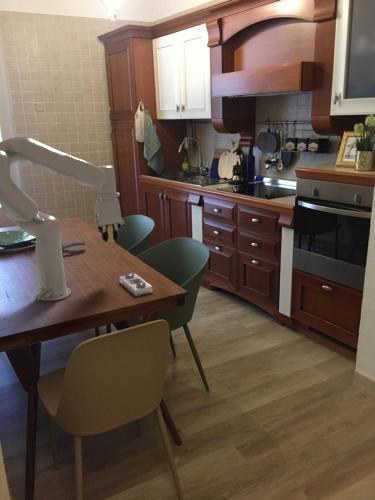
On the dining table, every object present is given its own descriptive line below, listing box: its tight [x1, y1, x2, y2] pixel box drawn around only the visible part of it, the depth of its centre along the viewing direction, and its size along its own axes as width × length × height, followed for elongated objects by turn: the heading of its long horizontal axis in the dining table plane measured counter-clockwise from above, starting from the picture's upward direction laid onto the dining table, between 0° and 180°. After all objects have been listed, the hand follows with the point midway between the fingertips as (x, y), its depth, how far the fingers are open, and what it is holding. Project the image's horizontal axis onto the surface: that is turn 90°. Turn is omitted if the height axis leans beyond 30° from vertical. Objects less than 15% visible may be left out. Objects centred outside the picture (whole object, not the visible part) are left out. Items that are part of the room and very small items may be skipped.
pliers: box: [61, 241, 87, 255], centre depth 219 cm, size 20×2×6 cm, turn 113°
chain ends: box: [119, 272, 153, 297], centre depth 174 cm, size 17×7×4 cm, turn 29°
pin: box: [105, 224, 115, 245], centre depth 181 cm, size 3×3×8 cm
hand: (110, 240), depth 181 cm, fingers closed on pin, 3 cm apart
